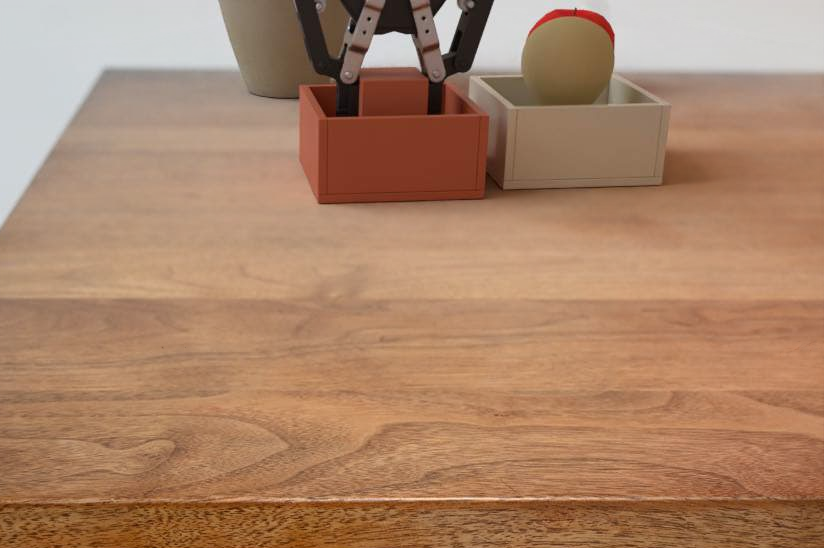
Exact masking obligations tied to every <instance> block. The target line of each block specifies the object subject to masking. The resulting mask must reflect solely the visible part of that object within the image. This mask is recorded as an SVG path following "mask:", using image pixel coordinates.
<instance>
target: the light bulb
mask: <svg viewBox="0 0 824 548" xmlns="http://www.w3.org/2000/svg"><path fill="white" fill-rule="evenodd" d="M527 37H528V36H527ZM526 39H527V38H526ZM615 59H616V58H615V48H613V44H612V41H611V39H610V36H609V35H608V33H607V32H606V31H605V30H604V29H603V28H602V27H600V26H599V25H597V24H596V23H594V22H592V21H590V20H587V19H584V18H579V17H560V18H556V19H553V20H550V21H548V22H546V23H544V24H542V25H540V26H539V27H537V28H536V29H535V30H534V31H533V32H532V33H531V34H530V36H529V37H528V39H527V41H526V40H525V43H524V46H523V48H522V52H521V58H520V70H521V75H522V76H523V79H524V82H525V84H526V86H527V88H528V90H529V92H530V94H531V95H532V97H533V98H534V100H535V101H536V103H537V104H538V106H552V105H592V104H593V103H594V101H595V100H596V99H597V98H598V97H599V96H600V94H601V93H602V92H603V90H604V89H605V88H606V86H607V84H608V83H609V80H610V78H611V76H612V73H614V69H615Z"/></svg>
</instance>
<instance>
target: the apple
mask: <svg viewBox="0 0 824 548" xmlns="http://www.w3.org/2000/svg"><path fill="white" fill-rule="evenodd" d="M560 17H579V18H584V19H587V20H590V21H592V22H594V23H596V24H597V25H599V26H600V27H602V28H603V29H604V30H605V31H606V32H607V33H608V35H609V36H610V39H611V41H612V44H613V48H614V49H615V44H616V39H615V38H616V36H615V35H616V34H615V32H614V29H613V27H612V25H611V23H610V22H609V21H608V20H607V19H606V18H605V16H604V15H602V14H600V13H598V12H595V11H593V10H587V9H577V7H575V6H574V9H571V8H570V9H569V8H555V9H553V10H551V11H549V12H547V13H545V14H544V15H543V16H541V18H540V19H538V21H537V22H535V23H534V25H533V26H532V28H531V29H530V30H529V31H528V35H527V37H526V39H525V42H526V41H527V39H528V37H529V36H530V34H531V33H532V32H533V31H534V30H535V29H536V28H537V27H539V26H540V25H542V24H544V23H546V22H548V21H550V20H553V19H556V18H560Z"/></svg>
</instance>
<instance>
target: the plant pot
mask: <svg viewBox="0 0 824 548" xmlns="http://www.w3.org/2000/svg"><path fill="white" fill-rule="evenodd" d="M217 2H218V5H219V9H220V12H221V15H222V19H223V23H224V26H225V30H226V32H227V33H226V34H227V36H228V40H229V42H230V46H231V48H232V51H233V54H234V57H235V60H236V64H237V66H238V68H239V71H240V74H241V76H242V79H243V81H244V83H245V86H246V89H247V91H248V92H249V93H250V94H254V95H257V96H259V97H266V98H280V99H295V98H296V99H297V98H299V99H300V85H320V84H330V83H331V80H332V78H331V77H328V76H325V75H319V74H318V73H316V72H315V70H314V68H313V67H312V65H311V64H310V61H309V57H308V54H307V50H306V46H305V43H304V39H303V36H302V32H301V29H300V25H299V21H298V18H297V14H296V11H295V7H294V4H293V0H217ZM326 2H327V7H326V10H325V11H324V12H323V13H322V14H319V15H318V16H319V20H320V24H321V27H322V31H323V34H324V38H325V42H326V45H327V49H328V53H329V55H331V56H334V57H337V58H339V55H340V52H341V49H342V45H343V41H344V35H345V32H346V29H347V26H348V22H349V19H350V15H349V14H348V12H347V11H346V9H345V8H344V6H343V5H342V3H341V2H340V0H326Z"/></svg>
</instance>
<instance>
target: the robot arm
mask: <svg viewBox="0 0 824 548" xmlns="http://www.w3.org/2000/svg"><path fill="white" fill-rule="evenodd" d="M340 2H341V3H342V5H343V6H344V8H345V9H346V11H347V12H348V14H349V15H350V19H349V22H348V26H347V29H346V32H345V35H344V41H343V45H342V48H341V52H340V55H339V57H338V58H337V57H334V56H331V55H329V53H328V49H327V45H326V42H325V38H324V34H323V31H322V27H321V24H320V20H319V16H318V15H319V14H322V13H323V12H324V11H325V10H326V7H327V2H326V0H293V4H294V7H295V11H296V14H297V18H298V21H299V25H300V29H301V32H302V36H303V39H304V43H305V46H306V50H307V54H308V57H309V61H310V64H311V65H312V67H313V68H314V70H315V72H316V73H318V74H319V75H325V76H328V77H331V79H333V80H334V81H335V84H336V117H359V84H358V83H357V78H358V75H359V72H360V69H361V68H362V65H363V62H364V59H365V56H366V54H367V53H368V51H369V49H370V47H371V44H372V40H373V37H374V36H383V35H387V34H390V33H394V32H395V33H398V34H402V35H410V36H411V40H412V43H413V45H414V47H415V50H416V55H417V58H418V63H419V65H420V71H421V73H422V74H423V75H424V76H425V77H427V78H428V79H429V87H428V108H427V115H441V109H442V107H441V106H442V89H443V83H444V82H446V80H447V79H448V78H449V77H451V76H454V75H457V74H459V73H461V74H465V73H467V72H468V73H469V71H470V70H471V69H472V67H473V63H474V61H475V58H476V55H477V52H478V49H479V46H480V43H481V40H482V37H483V34H484V32H485V28H486V25H487V23H488V21H489V20H488V19H489V17H490V14H491V11H492V7H493V6H494V2H495V0H456V5H457V7H458V9H459V10H461V13H460V15H459V19H458V23H457V25H456V27H455V28H456V29H455V31H454V34H453V37H452V41H451V43H450V47H449V49H448V52H446V53H443V54H442V52H441V47H440V46H441V43H440V39H439V36H438V35H439V34H438V32H437V31H438V30H437V27H436V23H435V20H434V18H435V17H436V15H437V14H438V13H439V11H440V10H441V8H442V7H443V6H444V4H445V3H446V2H447V0H340Z"/></svg>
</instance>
